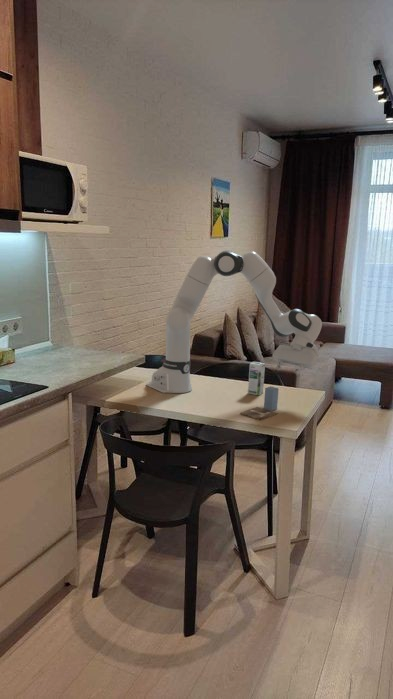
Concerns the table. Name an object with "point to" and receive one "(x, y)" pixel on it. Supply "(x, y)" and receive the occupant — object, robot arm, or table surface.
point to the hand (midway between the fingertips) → (286, 371)
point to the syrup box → (256, 378)
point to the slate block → (271, 398)
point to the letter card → (258, 413)
